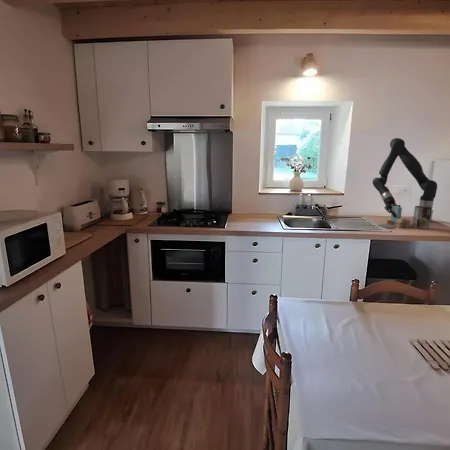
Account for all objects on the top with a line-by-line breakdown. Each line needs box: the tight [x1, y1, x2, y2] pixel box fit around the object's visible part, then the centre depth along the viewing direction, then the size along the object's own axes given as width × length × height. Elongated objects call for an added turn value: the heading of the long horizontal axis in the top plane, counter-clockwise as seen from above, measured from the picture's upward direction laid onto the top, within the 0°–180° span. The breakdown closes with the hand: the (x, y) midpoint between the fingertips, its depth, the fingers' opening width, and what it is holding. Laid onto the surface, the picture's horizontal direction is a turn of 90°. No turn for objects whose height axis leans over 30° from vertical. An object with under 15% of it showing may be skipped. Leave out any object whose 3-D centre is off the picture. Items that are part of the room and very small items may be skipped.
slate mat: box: [377, 223, 397, 230], centre depth 243 cm, size 8×10×1 cm
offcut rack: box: [386, 217, 411, 229], centre depth 247 cm, size 10×14×6 cm
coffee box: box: [412, 205, 433, 230], centre depth 239 cm, size 9×6×16 cm
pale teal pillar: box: [389, 206, 403, 222], centre depth 248 cm, size 4×6×14 cm, turn 16°
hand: (397, 216), depth 247 cm, fingers closed on pale teal pillar, 3 cm apart
